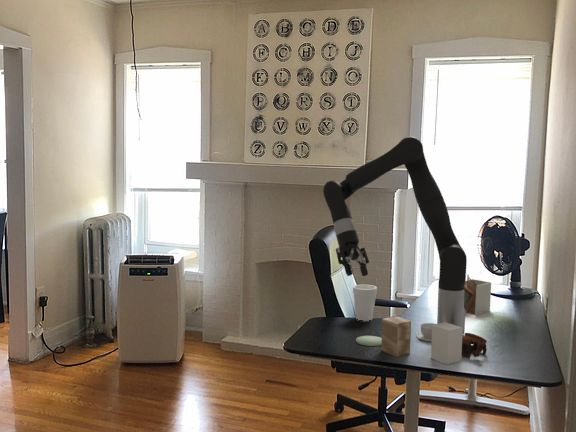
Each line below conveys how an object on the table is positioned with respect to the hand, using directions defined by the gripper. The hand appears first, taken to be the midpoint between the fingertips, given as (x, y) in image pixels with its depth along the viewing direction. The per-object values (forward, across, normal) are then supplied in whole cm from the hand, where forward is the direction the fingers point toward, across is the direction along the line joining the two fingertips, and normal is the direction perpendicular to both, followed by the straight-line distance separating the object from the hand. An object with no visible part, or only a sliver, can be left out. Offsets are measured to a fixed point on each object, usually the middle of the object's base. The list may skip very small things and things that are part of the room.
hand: (357, 275), depth 222 cm
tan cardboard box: (+29, +1, -6) cm, 30 cm away
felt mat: (+23, +3, +5) cm, 24 cm away
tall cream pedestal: (+36, +7, -20) cm, 41 cm away
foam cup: (+11, +25, +22) cm, 35 cm away
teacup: (+26, +23, -6) cm, 36 cm away
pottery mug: (+36, +17, -24) cm, 47 cm away
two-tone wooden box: (+16, +70, -1) cm, 72 cm away
